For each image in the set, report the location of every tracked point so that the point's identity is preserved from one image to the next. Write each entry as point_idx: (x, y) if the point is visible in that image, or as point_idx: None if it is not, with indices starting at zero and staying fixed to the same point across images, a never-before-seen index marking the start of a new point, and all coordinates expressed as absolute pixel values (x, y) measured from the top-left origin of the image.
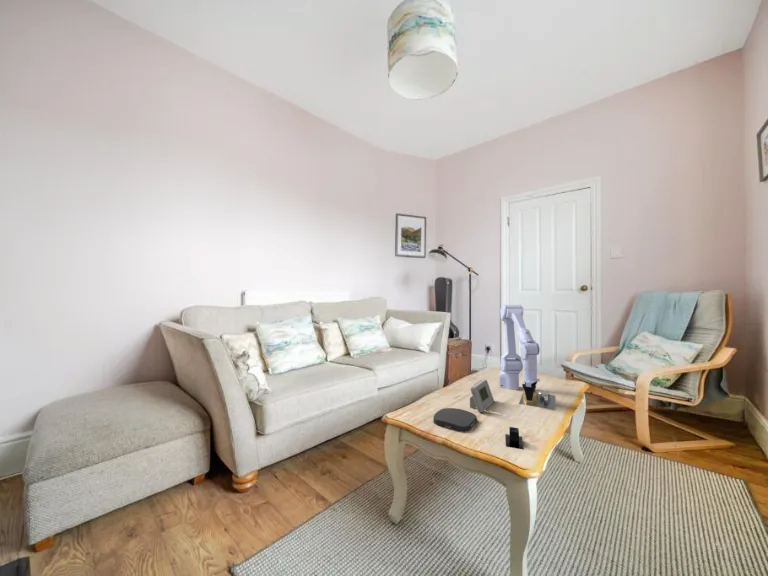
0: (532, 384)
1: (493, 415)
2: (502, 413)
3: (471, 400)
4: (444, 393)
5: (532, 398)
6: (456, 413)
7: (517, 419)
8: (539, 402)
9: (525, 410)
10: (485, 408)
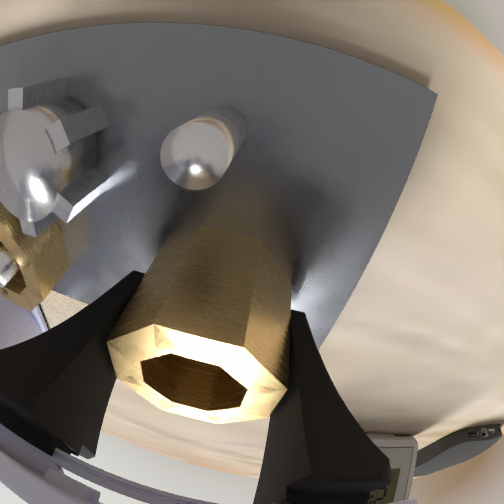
0: (76, 399)
1: (439, 415)
2: (428, 401)
3: None
4: (236, 471)
5: (300, 328)
6: (445, 463)
7: (498, 359)
8: (215, 201)
9: (405, 327)
10: (399, 442)
